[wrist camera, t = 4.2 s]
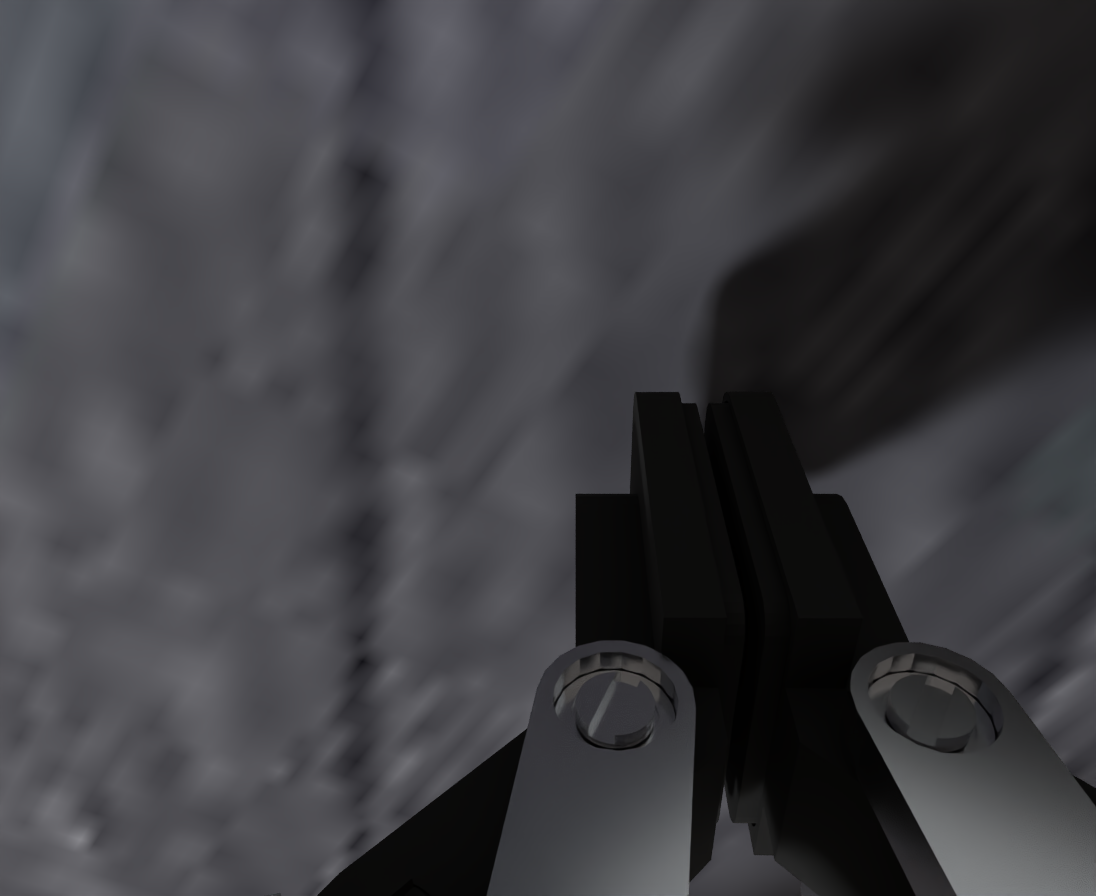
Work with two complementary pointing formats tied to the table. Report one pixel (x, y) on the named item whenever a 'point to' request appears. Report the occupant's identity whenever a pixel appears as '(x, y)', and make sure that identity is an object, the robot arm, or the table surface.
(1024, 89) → the table surface
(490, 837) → the robot arm
